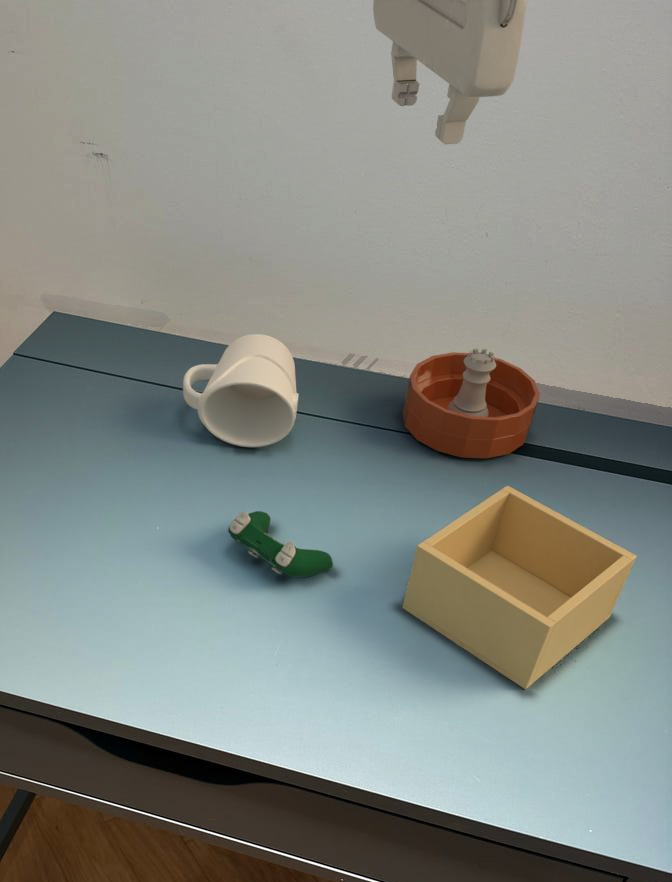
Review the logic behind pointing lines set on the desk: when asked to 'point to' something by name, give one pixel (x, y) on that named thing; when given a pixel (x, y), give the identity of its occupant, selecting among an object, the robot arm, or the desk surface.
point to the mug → (247, 392)
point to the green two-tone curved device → (276, 547)
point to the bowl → (463, 434)
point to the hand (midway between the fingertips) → (424, 121)
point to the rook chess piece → (474, 384)
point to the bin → (516, 584)
